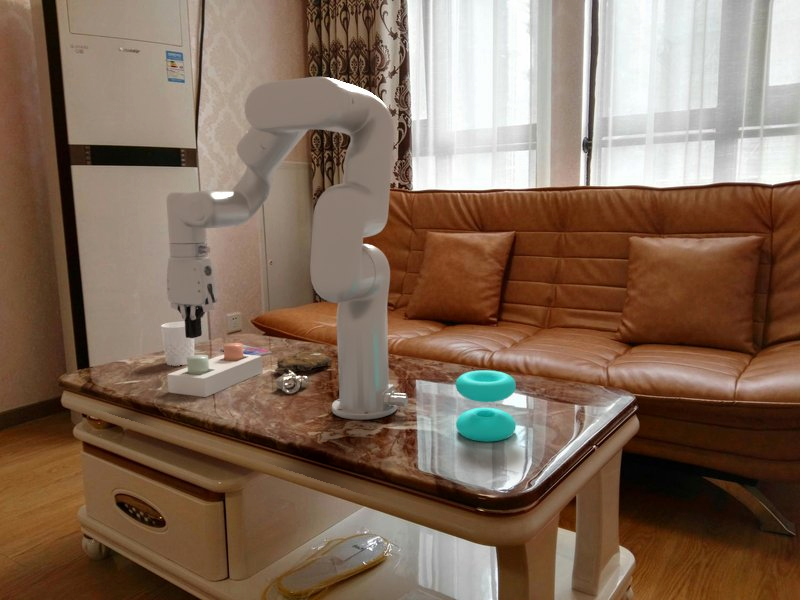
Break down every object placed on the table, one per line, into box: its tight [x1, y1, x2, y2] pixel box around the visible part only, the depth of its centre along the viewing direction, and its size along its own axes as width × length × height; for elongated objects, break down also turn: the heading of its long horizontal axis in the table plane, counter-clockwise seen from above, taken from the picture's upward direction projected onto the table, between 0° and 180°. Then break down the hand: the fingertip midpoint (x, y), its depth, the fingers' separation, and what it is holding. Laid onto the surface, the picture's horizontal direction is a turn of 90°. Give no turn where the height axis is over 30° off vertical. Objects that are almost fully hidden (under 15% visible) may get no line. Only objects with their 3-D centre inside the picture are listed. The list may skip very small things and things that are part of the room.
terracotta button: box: [222, 342, 244, 362], centre depth 146 cm, size 4×4×4 cm
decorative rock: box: [274, 350, 333, 376], centre depth 150 cm, size 11×4×15 cm
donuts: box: [455, 369, 517, 443], centre depth 106 cm, size 10×10×10 cm
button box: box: [166, 353, 264, 398], centre depth 141 cm, size 10×20×4 cm, turn 157°
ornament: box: [275, 371, 309, 395], centre depth 134 cm, size 8×7×4 cm
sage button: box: [186, 354, 209, 376], centre depth 135 cm, size 4×4×4 cm
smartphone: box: [220, 344, 273, 357], centre depth 169 cm, size 7×1×15 cm
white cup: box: [160, 320, 195, 367], centre depth 159 cm, size 8×8×10 cm
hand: (193, 336), depth 134 cm, fingers closed
